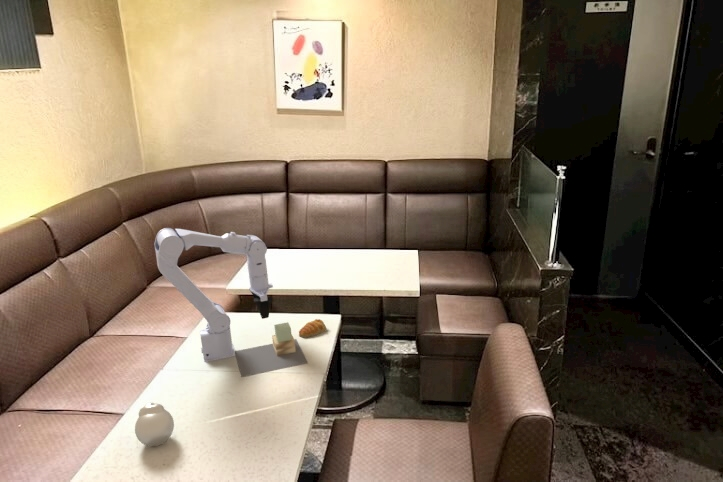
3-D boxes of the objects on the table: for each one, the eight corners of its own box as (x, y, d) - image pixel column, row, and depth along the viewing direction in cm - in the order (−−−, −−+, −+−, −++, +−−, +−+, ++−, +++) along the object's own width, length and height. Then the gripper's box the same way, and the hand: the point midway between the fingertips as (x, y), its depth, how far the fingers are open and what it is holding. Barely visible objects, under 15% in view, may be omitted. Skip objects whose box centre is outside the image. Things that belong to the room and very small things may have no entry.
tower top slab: (276, 349, 167) (275, 344, 166) (272, 341, 172) (272, 335, 172) (295, 346, 169) (294, 340, 168) (291, 337, 174) (290, 332, 173)
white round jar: (179, 426, 137) (173, 392, 134) (172, 451, 128) (166, 416, 125) (142, 430, 136) (136, 396, 132) (133, 456, 127) (125, 420, 124)
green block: (277, 342, 167) (276, 330, 166) (275, 336, 171) (274, 324, 170) (291, 339, 168) (290, 328, 167) (289, 333, 172) (288, 322, 171)
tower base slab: (276, 355, 167) (276, 349, 167) (273, 346, 173) (272, 341, 172) (295, 351, 169) (295, 346, 169) (291, 343, 175) (291, 337, 174)
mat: (241, 378, 157) (241, 377, 157) (234, 352, 171) (234, 351, 171) (308, 364, 163) (308, 363, 163) (296, 340, 177) (296, 339, 177)
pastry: (307, 342, 176) (306, 331, 175) (294, 335, 181) (293, 325, 180) (328, 331, 183) (327, 321, 181) (315, 325, 187) (314, 315, 186)
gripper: (275, 279, 164) (279, 319, 168) (266, 264, 177) (271, 301, 181) (251, 284, 162) (257, 324, 166) (245, 267, 175) (250, 305, 179)
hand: (263, 312), depth 174 cm, fingers open, 7 cm apart
